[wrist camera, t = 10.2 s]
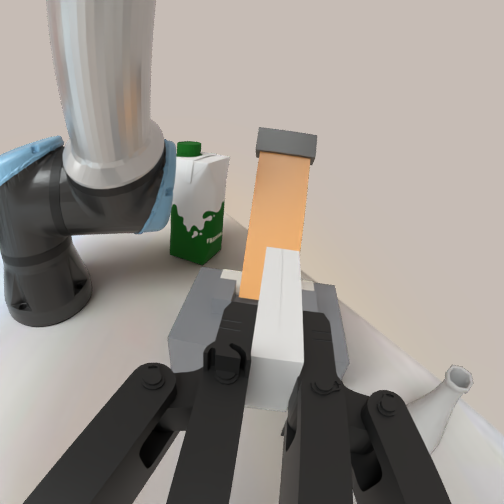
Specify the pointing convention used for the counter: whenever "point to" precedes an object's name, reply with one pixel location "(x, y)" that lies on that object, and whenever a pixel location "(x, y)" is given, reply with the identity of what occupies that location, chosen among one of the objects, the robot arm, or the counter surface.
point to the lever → (276, 200)
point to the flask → (439, 405)
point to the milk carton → (197, 203)
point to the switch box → (227, 290)
